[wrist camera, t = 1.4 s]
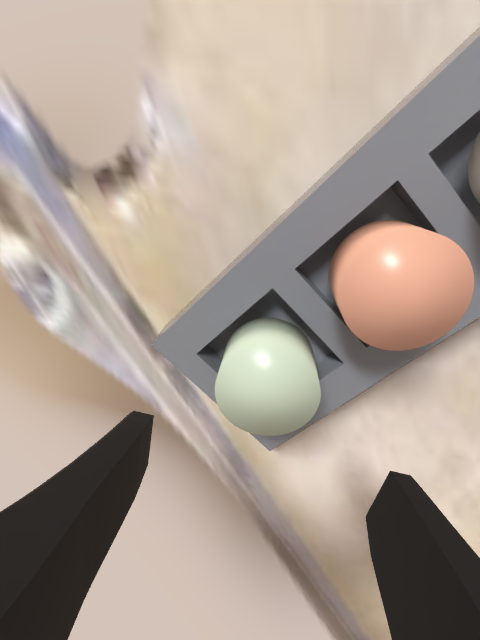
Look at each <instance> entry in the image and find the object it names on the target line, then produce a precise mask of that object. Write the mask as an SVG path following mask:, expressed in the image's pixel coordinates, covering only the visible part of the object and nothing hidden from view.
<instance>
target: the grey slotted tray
mask: <svg viewBox="0 0 480 640" xmlns="http://www.w3.org/2000/svg"><path fill="white" fill-rule="evenodd" d="M479 132H480V27H479V28H478V29H477V30H476V31H475V32H474V33H473V34H472V35H471V36H470V37H469V38H468V39H467V40H466V41H465V42H464V43H463V44H461V45H460V46H459V47H458V48H457V49H456V50H455V51H454V52H453V53H452V54H451V55H450V56H449V57H448V58H447V59H446V60H445V61H444V62H443V63H441V64H440V65H439V66H438V67H437V68H436V69H435V70H434V71H433V72H432V73H431V74H430V75H429V76H428V77H427V78H426V79H425V80H424V81H423V82H422V83H420V84H419V85H418V86H417V87H416V88H415V89H414V90H413V91H412V92H411V93H410V94H409V95H408V96H407V97H406V98H405V99H404V100H403V101H402V102H400V103H399V104H398V105H397V106H396V107H395V108H394V109H393V110H392V111H391V112H390V113H389V114H388V115H387V116H386V117H385V118H384V119H383V120H382V121H380V122H379V123H378V124H377V125H376V126H375V127H374V128H373V129H372V130H371V131H370V132H369V133H368V134H367V135H366V136H365V137H364V138H363V139H362V140H361V141H359V142H358V143H357V144H356V145H355V146H354V147H353V148H352V149H351V150H350V151H349V152H348V153H347V154H346V155H345V156H344V157H343V158H342V159H341V160H339V161H338V162H337V163H336V164H335V165H334V166H333V167H332V168H331V169H330V170H329V171H328V172H327V173H326V174H325V175H324V176H323V177H322V178H321V179H319V180H318V181H317V182H316V183H315V184H314V185H313V186H312V187H311V188H310V189H309V190H308V191H307V192H306V193H305V194H304V195H303V196H302V197H301V198H300V199H298V200H297V201H296V202H295V203H294V204H293V205H292V206H291V207H290V208H289V209H288V210H287V211H286V212H285V213H284V214H283V215H282V216H281V217H280V218H278V219H277V220H276V221H275V222H274V223H273V224H272V225H271V226H270V227H269V228H268V229H267V230H266V231H265V232H264V233H263V234H262V235H261V236H260V237H258V238H257V239H256V240H255V241H254V242H253V243H252V244H251V245H250V246H249V247H248V248H247V249H246V250H245V251H244V252H243V253H242V254H241V255H240V256H239V257H237V258H236V259H235V260H234V261H233V262H232V263H231V264H230V265H229V266H228V267H227V268H226V269H225V270H224V271H223V272H222V273H221V274H220V275H219V276H217V277H216V278H215V279H214V280H213V281H212V282H211V283H210V284H209V285H208V286H207V287H206V288H205V289H204V290H203V291H202V292H201V293H200V294H199V295H197V296H196V297H195V298H194V299H193V300H192V301H191V302H190V303H189V304H188V305H187V306H186V307H185V308H184V309H183V310H182V311H181V312H180V313H179V314H178V315H176V316H175V317H174V318H173V319H172V320H171V321H170V322H169V323H168V324H167V325H166V326H165V327H164V329H163V330H162V331H161V333H160V334H159V335H158V337H157V338H156V339H155V340H154V342H153V343H152V344H151V345H152V346H153V347H154V348H155V349H156V350H157V351H158V352H160V353H161V354H162V355H163V356H164V357H165V358H166V359H167V360H169V361H170V362H171V363H172V364H173V365H174V366H175V367H176V368H177V369H179V370H180V371H181V372H182V373H183V374H184V375H185V376H186V377H188V378H189V379H190V380H191V381H192V382H193V383H194V384H195V385H197V386H198V387H199V388H200V389H201V390H202V391H203V392H204V393H205V394H207V395H208V396H209V397H210V398H211V399H212V400H213V401H214V402H216V403H217V401H216V398H215V383H216V378H217V375H218V372H219V369H220V365H221V362H222V359H223V356H224V352H225V349H226V346H227V343H228V341H229V339H230V337H231V336H232V334H233V333H234V332H235V331H236V330H237V329H238V328H239V327H241V326H242V325H244V324H246V323H247V322H250V321H252V320H256V319H261V318H276V319H281V320H284V321H287V322H289V323H291V324H293V325H295V326H296V327H298V328H299V329H300V330H301V331H302V332H303V333H304V334H305V335H306V336H307V338H308V340H309V341H310V343H311V346H312V349H313V353H314V358H315V363H316V368H317V373H318V378H319V383H320V389H321V399H320V404H319V406H318V409H317V411H316V413H315V414H314V416H313V417H312V418H311V420H310V421H308V422H307V423H306V424H305V425H304V426H302V427H301V428H299V429H297V430H295V431H293V432H291V433H287V434H284V435H278V436H263V435H256V434H252V433H250V434H251V435H252V436H254V437H255V438H256V439H257V440H258V441H259V442H260V443H261V444H262V445H264V446H265V447H266V448H267V449H268V450H269V451H271V450H272V449H274V448H275V447H277V446H279V445H280V444H282V443H283V442H285V441H286V440H288V439H289V438H291V437H293V436H294V435H296V434H297V433H299V432H300V431H302V430H304V429H305V428H307V427H308V426H310V425H311V424H313V423H315V422H316V421H318V420H319V419H321V418H322V417H324V416H325V415H327V414H329V413H330V412H332V411H333V410H335V409H336V408H338V407H340V406H341V405H343V404H344V403H346V402H347V401H349V400H351V399H352V398H354V397H355V396H357V395H358V394H360V393H362V392H363V391H365V390H366V389H368V388H369V387H371V386H372V385H374V384H376V383H377V382H379V381H380V380H382V379H383V378H385V377H387V376H388V375H390V374H391V373H393V372H394V371H396V370H398V369H399V368H401V367H402V366H404V365H405V364H407V363H408V362H410V361H412V360H413V359H415V358H416V357H418V356H419V355H421V354H423V353H424V352H426V351H427V350H429V349H430V348H432V347H434V346H435V345H437V344H438V343H440V342H441V341H443V340H445V339H446V338H448V337H449V336H451V335H452V334H454V333H455V332H457V331H459V330H460V329H462V328H463V327H465V326H466V325H468V324H470V323H471V322H473V321H474V320H476V319H477V318H479V317H480V203H479V202H478V201H477V200H476V198H475V196H474V195H473V193H472V190H471V188H470V184H469V180H468V162H469V157H470V153H471V150H472V147H473V144H474V142H475V140H476V137H477V135H478V134H479ZM380 220H399V221H403V222H406V223H409V224H412V225H415V226H418V227H421V228H424V229H426V230H429V231H432V232H435V233H438V234H440V235H443V236H446V237H447V238H449V239H451V240H452V241H454V242H455V243H456V244H457V245H459V246H460V247H461V248H462V250H463V251H464V252H465V253H466V255H467V257H468V258H469V260H470V263H471V265H472V269H473V273H474V290H473V295H472V299H471V301H470V304H469V306H468V308H467V310H466V312H465V314H464V315H463V316H462V318H461V319H460V321H459V322H458V323H457V324H456V325H455V326H454V327H453V328H452V329H451V330H450V331H449V332H448V333H446V334H445V335H444V336H442V337H441V338H439V339H437V340H436V341H434V342H432V343H430V344H427V345H425V346H422V347H419V348H415V349H410V350H403V351H391V350H384V349H380V348H376V347H373V346H371V345H369V344H367V343H365V342H363V341H362V340H360V339H359V338H358V337H357V336H356V335H354V334H353V333H352V331H351V330H350V329H349V327H348V326H347V324H346V322H345V321H344V318H343V316H342V314H341V312H340V310H339V308H338V306H337V303H336V301H335V299H334V297H333V295H332V292H331V290H330V286H329V279H328V274H329V266H330V262H331V259H332V257H333V255H334V253H335V251H336V249H337V248H338V246H339V245H340V243H341V242H342V241H343V240H344V239H345V238H346V237H347V236H348V235H349V234H350V233H352V232H353V231H354V230H356V229H358V228H359V227H361V226H363V225H366V224H368V223H371V222H375V221H380Z"/></svg>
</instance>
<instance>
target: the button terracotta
mask: <svg viewBox="0 0 480 640" xmlns="http://www.w3.org/2000/svg"><path fill="white" fill-rule="evenodd" d="M328 279H329V286H330V290H331V292H332V295H333V297H334V299H335V301H336V303H337V306H338V308H339V310H340V312H341V314H342V316H343V318H344V321H345V322H346V324H347V326H348V327H349V329H350V330H351V331H352V333H353V334H354V335H356V336H357V337H358V338H359V339H360V340H362V341H363V342H365V343H367V344H369V345H371V346H373V347H376V348H380V349H384V350H391V351H403V350H410V349H415V348H419V347H422V346H425V345H427V344H430V343H432V342H434V341H436V340H437V339H439V338H441V337H442V336H444V335H445V334H446V333H448V332H449V331H450V330H451V329H452V328H453V327H454V326H455V325H456V324H457V323H458V322H459V321H460V319H461V318H462V316H463V315H464V314H465V312H466V310H467V308H468V306H469V304H470V301H471V299H472V295H473V290H474V273H473V269H472V265H471V263H470V260H469V258H468V257H467V255H466V253H465V252H464V251H463V250H462V248H461V247H460V246H459V245H457V244H456V243H455V242H454V241H452V240H451V239H449V238H447V237H446V236H443V235H440V234H438V233H435V232H432V231H429V230H426V229H424V228H421V227H418V226H415V225H412V224H409V223H406V222H403V221H399V220H380V221H375V222H371V223H368V224H366V225H363V226H361V227H359V228H358V229H356V230H354V231H353V232H352V233H350V234H349V235H348V236H347V237H346V238H345V239H344V240H343V241H342V242H341V243H340V245H339V246H338V248H337V249H336V251H335V253H334V255H333V257H332V259H331V262H330V266H329V274H328Z"/></svg>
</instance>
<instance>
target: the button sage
mask: <svg viewBox="0 0 480 640" xmlns="http://www.w3.org/2000/svg"><path fill="white" fill-rule="evenodd" d="M215 398H216V401H217V404H218V406H219V408H220V410H221V412H222V413H223V414H224V416H225V417H226V418H227V419H228V420H229V421H230V422H231V423H233V424H234V425H235V426H237V427H238V428H240V429H242V430H244V431H247V432H249V433H252V434H256V435H263V436H278V435H284V434H287V433H291V432H293V431H295V430H297V429H299V428H301V427H302V426H304V425H305V424H306V423H307V422H308V421H310V420H311V418H312V417H313V416H314V414H315V413H316V411H317V409H318V406H319V404H320V399H321V389H320V383H319V378H318V373H317V368H316V363H315V358H314V353H313V349H312V346H311V343H310V341H309V340H308V338H307V336H306V335H305V334H304V333H303V332H302V331H301V330H300V329H299V328H298V327H296V326H295V325H293V324H291V323H289V322H287V321H284V320H281V319H276V318H261V319H256V320H252V321H250V322H247V323H246V324H244V325H242V326H241V327H239V328H238V329H237V330H236V331H235V332H234V333H233V334H232V336H231V337H230V339H229V341H228V343H227V346H226V349H225V352H224V356H223V359H222V362H221V365H220V369H219V372H218V375H217V378H216V383H215Z"/></svg>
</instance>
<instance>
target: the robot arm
mask: <svg viewBox="0 0 480 640" xmlns="http://www.w3.org/2000/svg"><path fill="white" fill-rule="evenodd" d="M153 417H154V416H153V415H149V414H145V413H141V412H136V411H133V412H132V413H130V414H129V415H127V417H125V418H124V419H123V420H122V421H121V422H120V423H119V424H117V425H116V426H115V427H114V428H113V429H112V430H111V431H110V432H108V433H107V434H106V435H105V436H104V437H103V438H101V439H100V440H99V441H98V442H97V443H95V444H94V445H93V446H92V447H90V448H89V449H88V450H87V451H85V452H84V453H83V454H82V455H80V456H79V457H78V458H77V459H75V460H74V461H73V462H72V463H70V464H69V465H68V466H66V467H65V468H64V469H62V470H61V471H59V472H58V473H57V474H55V475H54V476H53V477H51V478H50V479H48V480H47V481H46V482H44V483H43V484H42V485H40V486H39V487H37V488H36V489H34V490H33V491H32V492H30V493H29V494H27V495H26V496H24V497H23V498H21V499H20V500H18V501H17V502H15V503H14V504H12V505H10V506H9V507H7V508H6V509H4V510H3V511H1V512H0V640H67V639H68V637H69V635H70V632H71V630H72V628H73V625H74V623H75V620H76V618H77V615H78V613H79V611H80V608H81V606H82V604H83V601H84V599H85V597H86V595H87V593H88V591H89V588H90V586H91V584H92V582H93V580H94V578H95V576H96V574H97V572H98V570H99V568H100V566H101V564H102V562H103V560H104V558H105V556H106V555H107V553H108V550H109V549H110V547H111V545H112V543H113V541H114V539H115V537H116V535H117V533H118V531H119V529H120V527H121V525H122V523H123V521H124V519H125V517H126V515H127V513H128V511H129V509H130V507H131V505H132V503H133V501H134V499H135V497H136V494H137V492H138V489H139V487H140V484H141V481H142V479H143V476H144V474H145V471H146V468H147V466H148V459H149V451H150V442H151V433H152V425H153ZM366 522H367V530H368V538H369V545H370V552H371V557H372V561H373V566H374V570H375V574H376V578H377V582H378V586H379V590H380V594H381V598H382V601H383V605H384V609H385V613H386V617H387V621H388V625H389V629H390V633H391V637H392V640H480V558H479V557H478V555H477V554H476V553H475V552H474V551H473V550H472V548H471V547H470V546H469V545H468V544H467V542H466V541H465V540H464V539H463V538H462V537H461V535H460V534H459V533H458V532H457V530H456V529H455V528H454V527H453V526H452V524H451V523H450V522H449V521H448V520H447V518H446V517H445V516H444V515H443V513H442V512H441V511H440V510H439V509H438V507H437V506H436V505H435V504H434V503H433V501H432V500H431V499H430V498H429V496H428V495H427V494H426V493H425V492H424V490H423V489H422V488H421V487H420V486H419V485H418V483H417V482H416V481H415V480H414V479H413V478H412V477H411V476H410V475H406V474H402V473H398V472H393V471H390V472H389V474H388V476H387V478H386V480H385V482H384V483H383V485H382V487H381V489H380V491H379V493H378V495H377V496H376V498H375V500H374V502H373V504H372V506H371V508H370V509H369V511H368V513H367V515H366Z"/></svg>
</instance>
